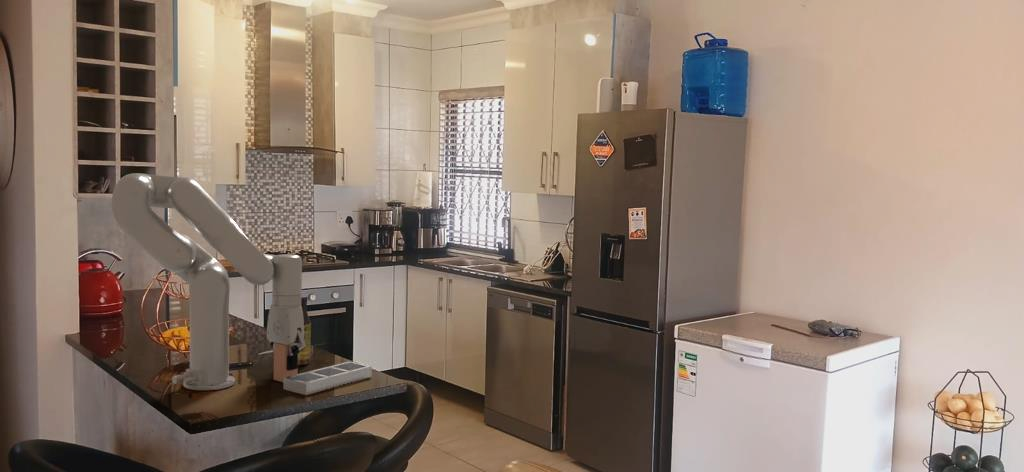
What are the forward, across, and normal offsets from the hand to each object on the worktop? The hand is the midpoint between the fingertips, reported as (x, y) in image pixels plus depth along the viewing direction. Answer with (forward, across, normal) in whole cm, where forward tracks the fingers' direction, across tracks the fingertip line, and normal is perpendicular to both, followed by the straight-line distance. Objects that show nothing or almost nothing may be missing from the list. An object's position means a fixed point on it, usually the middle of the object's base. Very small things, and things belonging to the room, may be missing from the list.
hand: (285, 367), depth 213 cm
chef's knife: (+4, -29, +22) cm, 37 cm away
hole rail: (+3, +11, +5) cm, 13 cm away
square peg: (+3, 0, 0) cm, 3 cm away
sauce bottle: (+4, -11, +14) cm, 18 cm away
